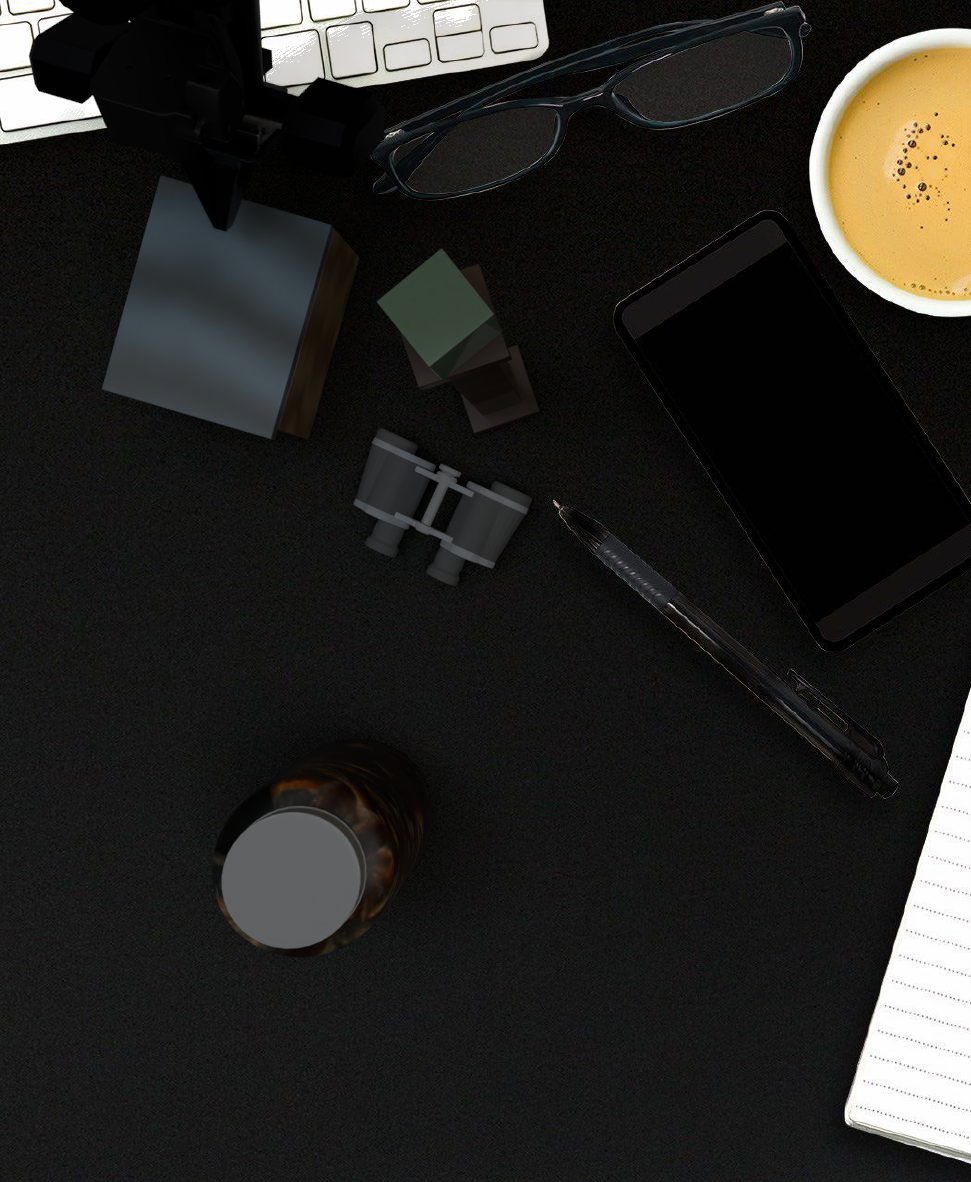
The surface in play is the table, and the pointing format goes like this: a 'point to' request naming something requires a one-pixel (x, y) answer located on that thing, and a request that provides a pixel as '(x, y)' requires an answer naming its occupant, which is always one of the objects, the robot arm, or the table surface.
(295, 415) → the box
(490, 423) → the pillar
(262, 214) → the lid
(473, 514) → the binoculars
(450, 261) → the cube
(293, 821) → the jar
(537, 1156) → the table surface
